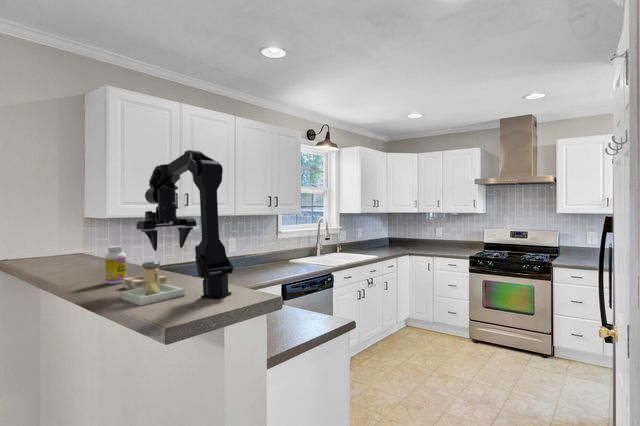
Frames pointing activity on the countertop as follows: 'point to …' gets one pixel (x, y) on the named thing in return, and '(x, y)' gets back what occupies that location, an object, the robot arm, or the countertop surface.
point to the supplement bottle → (115, 265)
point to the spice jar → (151, 278)
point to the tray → (140, 298)
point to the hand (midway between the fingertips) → (168, 249)
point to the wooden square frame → (139, 282)
